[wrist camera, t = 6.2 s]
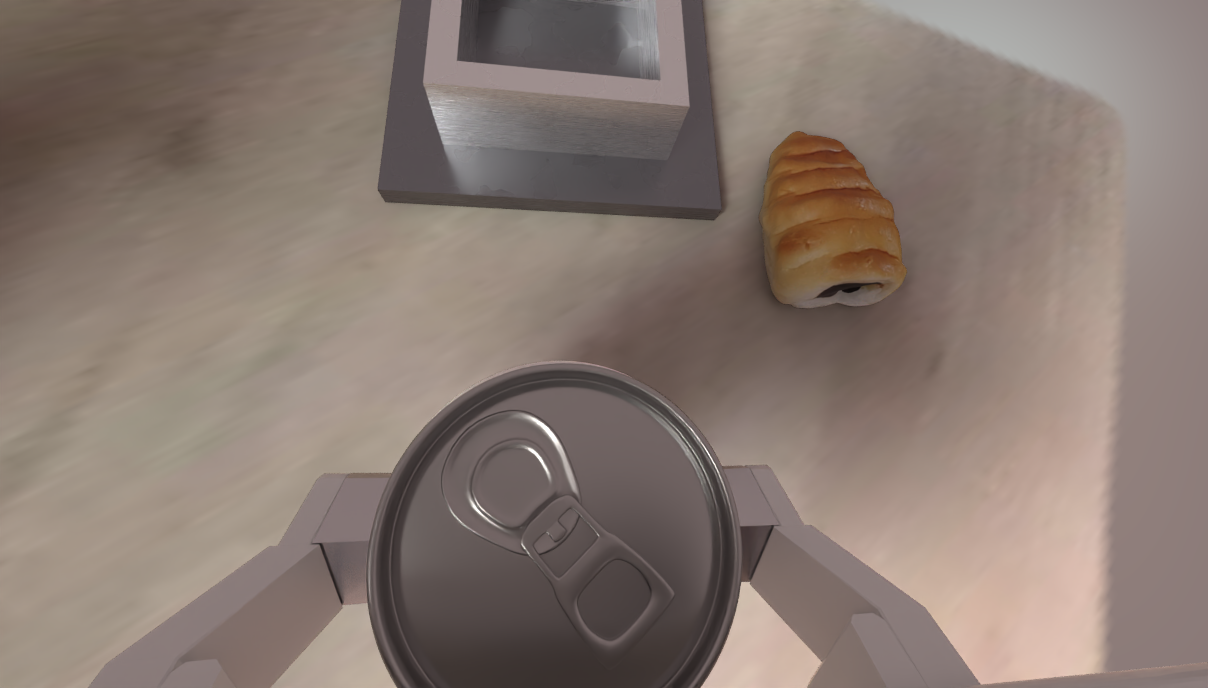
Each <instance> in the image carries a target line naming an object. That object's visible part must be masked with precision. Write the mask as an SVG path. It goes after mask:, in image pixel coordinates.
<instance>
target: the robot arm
mask: <svg viewBox="0 0 1208 688" xmlns="http://www.w3.org/2000/svg"><path fill="white" fill-rule="evenodd" d="M722 467H723V469H724V472H725V474H726V476H727V479H728V481H729V484H730V487H731V490H732V493H733V496H734V500H735V503H736V507H737V512H738V517H739V522H740V529H741V538H742V576H741V582H750V585H751V586H752V587H753V588H754V589H755V590H756V591H757V592H758V593H759V594H760V595H761V597H762V598H763V599H764V600H765V601H766V602H767V603H768V604H769V605H770V606H771V607H772V608H773V610H774V611H775V612H776V613H777V614H778V615H779V616H780V617H781V618H782V619H783V620H784V621H785V622H786V624H787V625H788V626H789V627H790V628H791V629H792V630H793V631H794V632H795V633H796V634H797V635H798V636H799V638H800V639H801V640H802V641H803V642H804V643H805V644H806V645H807V646H808V647H809V648H810V649H811V651H812V652H813V653H814V654H815V655H816V656H817V657H818V658H819V659H820V660H821V661H822V663H821V664H820V666H819V667H818V669H817V671H816V672H815V674H814V675H813V677H812V678H811V680H810V682H809V684H808V687H807V688H1208V662H1205V663H1196V664H1186V665H1177V666H1167V667H1157V668H1147V669H1136V670H1126V671H1116V672H1105V673H1095V674H1085V675H1075V676H1064V677H1054V678H1044V679H1034V680H1024V681H1014V682H1003V683H993V684H983V685H981V684H980V683H979V682H978V680H977V679H976V677H975V676H974V675H973V673H972V672H971V670H970V669H969V668H968V666H967V665H966V664H965V662H964V661H963V659H962V658H961V657H960V655H959V654H958V652H957V651H956V650H955V648H954V647H953V645H952V644H951V643H950V641H949V640H948V638H947V637H946V636H945V634H944V633H943V632H942V630H941V629H940V627H939V626H938V625H937V623H936V622H935V620H934V619H933V618H932V616H931V615H930V613H929V612H928V611H927V609H926V608H925V607H924V606H922V605H921V604H920V603H918V602H917V601H915V600H914V599H913V598H911V597H910V596H909V595H907V594H906V593H904V592H903V591H902V590H900V589H899V588H897V587H896V586H895V585H893V584H892V583H891V582H889V581H888V580H886V579H885V578H884V577H882V576H881V575H880V574H878V573H877V572H875V571H874V570H873V569H871V568H870V567H868V566H867V565H866V564H864V563H863V562H862V561H860V560H859V559H857V558H856V557H855V556H853V555H852V554H851V553H849V552H848V551H846V550H845V549H844V548H842V547H841V546H839V545H838V544H837V543H835V542H834V541H833V540H831V539H830V538H828V537H827V536H826V535H824V534H823V533H822V532H820V531H819V530H817V529H816V528H815V527H813V526H812V525H804V523H803V521H802V520H801V518H800V516H799V515H798V513H797V511H796V510H795V508H794V506H793V505H792V503H791V501H790V500H789V498H788V496H787V494H786V493H785V491H784V489H783V488H782V486H781V484H780V483H779V481H778V479H777V478H776V476H775V474H774V472H773V471H772V469H771V468H770V467H769V466H767V465H747V466H722ZM391 474H392V473H324V474H323V475H322V476H320V477H319V478H318V479H317V480H316V482H315V483H314V485H313V487H312V489H311V490H310V492H309V494H308V495H307V497H306V499H305V500H304V502H303V504H302V505H301V507H300V509H299V511H298V512H297V514H296V516H295V517H294V519H293V521H292V522H291V524H290V526H289V528H288V529H287V531H286V533H285V534H284V536H283V538H282V539H281V541H280V543H279V544H278V546H269V547H267V548H266V549H265V550H263V551H262V552H260V553H259V554H258V555H256V556H255V557H253V558H252V559H251V560H249V561H248V562H247V563H245V564H244V565H242V566H241V567H240V568H238V569H237V570H235V571H234V572H233V573H231V574H230V575H229V576H227V577H226V578H224V579H223V580H222V581H220V582H219V583H217V584H216V585H215V586H213V587H212V588H211V589H209V590H208V591H206V592H205V593H204V594H202V595H201V596H199V597H198V598H197V599H195V600H194V601H193V602H191V603H190V604H188V605H187V606H186V607H184V608H183V609H181V610H180V611H179V612H177V613H176V614H174V615H173V616H172V617H170V618H169V619H168V620H166V621H165V622H163V623H162V624H161V625H159V626H158V627H156V628H155V629H154V630H152V631H151V632H150V633H148V634H147V635H145V636H144V637H143V638H141V639H140V640H138V641H137V642H136V643H134V644H133V645H132V646H130V647H129V648H127V649H126V650H125V651H123V652H122V653H120V654H119V655H118V656H116V657H115V658H114V659H112V660H111V661H109V662H108V663H107V664H106V665H105V666H104V667H103V669H102V670H101V671H100V672H99V674H98V675H97V676H96V678H95V679H94V680H93V682H92V683H91V684H90V685H89V687H88V688H270V687H271V686H272V685H273V684H274V683H275V682H276V681H277V680H278V678H279V677H280V676H281V675H282V674H283V673H284V672H285V671H286V670H287V669H288V667H289V666H290V665H291V664H292V663H293V662H294V661H295V660H296V659H297V658H298V656H299V655H300V654H301V653H302V652H303V651H304V650H305V649H306V648H307V647H308V646H309V644H310V643H311V642H312V641H313V640H314V639H315V638H316V637H317V636H318V635H319V633H320V632H321V631H322V630H323V629H324V628H325V627H326V626H327V625H328V624H329V622H330V621H331V620H332V619H333V618H334V617H335V616H336V615H337V614H338V613H339V611H340V610H341V609H342V605H351V604H362V603H368V601H367V588H366V566H367V553H368V546H369V540H370V534H371V529H372V525H373V521H374V517H375V514H376V510H377V507H378V504H379V502H380V499H381V496H382V494H383V491H384V489H385V487H386V484H387V482H388V480H389V478H390V476H391Z"/></svg>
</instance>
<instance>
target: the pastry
mask: <svg viewBox="0 0 1208 688" xmlns="http://www.w3.org/2000/svg"><path fill="white" fill-rule="evenodd" d="M759 222H760V224H761V225H762V228H763V234H762V237H763V243H764V260H765V264H766V270H767V274H768V280H769V283H770V286H771V291H772V293H773V294H774V296H775V297H776V298H777V299H778V301H780V302H781V303H782V304H791V305H792V306H793V307H796V308H815V307H818V306H826V305H831V304H834V303H840V304H844V305H848V306H864V305H872V304H874V303H877V302H879V301H881V300H883V299H884V298H886V297H887V296H889V295H890V294H891V293H893V292H894V291H895V290H897V289H898V288H899V287H900V286H901V284H902V282H903V281H904V278H905V276H906V273H907V270H906V267H905V266H904V265H903V264H902V252H901V244H900V236H899V232H898V229H897V227H896V225H895V223H894V210H893V207H892V204H891V203H890V202H889V201H888V200H886V199H884V198H883V197H882V196H881V194H880V192H879V191H878V190H877V189H875V188H874V186H873V184H872V183H871V182H870V180H869V178H868V177H867V176H866V172H865V169H864V167H863V165H862V164H861V163H860V162H858V161H857V160H856V158H855V156H854V155H853V154H852V153H850V152H849V151H848V150H847V149H846V148H845V147H844V145H843V144H842V143H841V142H839V141H837V140H835V139H831V138H827V137H821V136H812V135H807V134H805V133H803V132H800V131H796V132H794V133H792V134H790V135H789V136H788V137H787V138H786V139H785V140H784V141H783V142H782V143H781V144H780V145H779V146H778V147H777V148H776V149H775V150H774V151H773V152H772V154H771V156H770V160H769V169H768V173H767V180H766V182H765V184H764V198H763V204H762V208H761V211H760V213H759Z"/></svg>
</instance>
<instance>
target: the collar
mask: <svg viewBox="0 0 1208 688" xmlns="http://www.w3.org/2000/svg"><path fill="white" fill-rule="evenodd" d="M378 191H379V193H380V194H381V196H382V197H383V199H384V201H385V202H395V203H413V204H431V205H449V206H467V207H485V208H503V209H521V210H540V211H558V212H576V213H594V214H612V215H630V216H648V217H666V218H684V219H702V220H715V218H716V217H717V215H718V214H719V213H720V211H721V210H722V208H721V198H720V187H719V177H718V166H717V156H716V145H715V135H714V124H713V114H712V103H711V92H710V82H709V71H708V61H707V50H706V40H705V29H704V19H703V8H702V0H402V1H401V9H400V17H399V24H398V32H397V40H396V48H395V56H394V64H393V72H392V80H391V87H390V95H389V103H388V111H387V119H386V127H385V135H384V143H383V150H382V158H381V166H380V174H379V182H378Z"/></svg>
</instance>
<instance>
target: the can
mask: <svg viewBox="0 0 1208 688" xmlns="http://www.w3.org/2000/svg"><path fill="white" fill-rule="evenodd" d="M741 576H742V538H741V529H740V522H739V517H738V512H737V507H736V503H735V500H734V496H733V493H732V490H731V487H730V484H729V481H728V479H727V476H726V474H725V472H724V469H723V467H722V465H721V463H720V461H719V459H718V457H717V456H716V454H715V452H714V450H713V449H712V447H711V446H710V444H709V442H708V441H707V440H706V438H705V437H704V435H703V434H702V433H701V431H700V430H699V429H698V428H697V426H696V425H695V424H694V423H693V422H692V421H691V420H690V418H689V417H688V416H687V415H686V414H685V413H684V412H683V411H682V410H680V409H679V408H678V407H677V406H676V405H675V404H674V403H672V402H671V401H670V400H669V399H667V398H666V397H665V396H663V395H662V394H660V393H659V392H658V391H656V390H654V389H653V388H651V387H649V386H648V385H646V384H644V383H642V382H640V381H638V380H636V379H634V378H632V377H630V376H628V375H626V374H624V373H621V372H619V371H616V370H613V369H610V368H607V367H604V366H600V365H596V364H591V363H585V362H578V361H544V362H536V363H530V364H525V365H521V366H517V367H513V368H510V369H507V370H504V371H501V372H499V373H496V374H494V375H492V376H490V377H487V378H485V379H483V380H481V381H480V382H478V383H476V384H474V385H473V386H471V387H469V388H468V389H466V390H465V391H463V392H462V393H460V394H459V395H458V396H456V397H455V398H454V399H452V400H451V401H450V402H449V403H447V404H446V405H445V406H444V407H443V408H442V409H441V410H440V411H439V412H438V413H437V414H436V415H435V416H434V417H433V418H432V419H431V420H430V421H429V422H428V423H427V424H426V425H425V427H424V428H423V429H422V430H421V431H420V433H419V434H418V435H417V436H416V437H415V439H414V440H413V441H412V442H411V444H410V445H409V447H408V448H407V449H406V451H405V452H404V454H403V455H402V457H401V458H400V460H399V462H398V463H397V465H396V467H395V469H394V470H393V472H392V474H391V476H390V478H389V480H388V482H387V484H386V487H385V489H384V491H383V494H382V496H381V499H380V502H379V504H378V507H377V510H376V514H375V517H374V521H373V525H372V529H371V534H370V540H369V546H368V553H367V566H366V588H367V601H368V609H369V615H370V620H371V625H372V629H373V633H374V637H375V640H376V643H377V646H378V649H379V652H380V655H381V657H382V660H383V662H384V664H385V666H386V669H387V670H388V672H389V674H390V676H391V678H392V680H393V682H394V683H395V685H396V687H397V688H701V686H702V685H703V683H704V682H705V680H706V679H707V677H708V676H709V674H710V672H711V671H712V669H713V667H714V665H715V663H716V662H717V660H718V658H719V656H720V654H721V652H722V649H723V647H724V645H725V642H726V640H727V637H728V635H729V632H730V629H731V626H732V623H733V619H734V616H735V612H736V608H737V603H738V598H739V592H740V586H741Z"/></svg>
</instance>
